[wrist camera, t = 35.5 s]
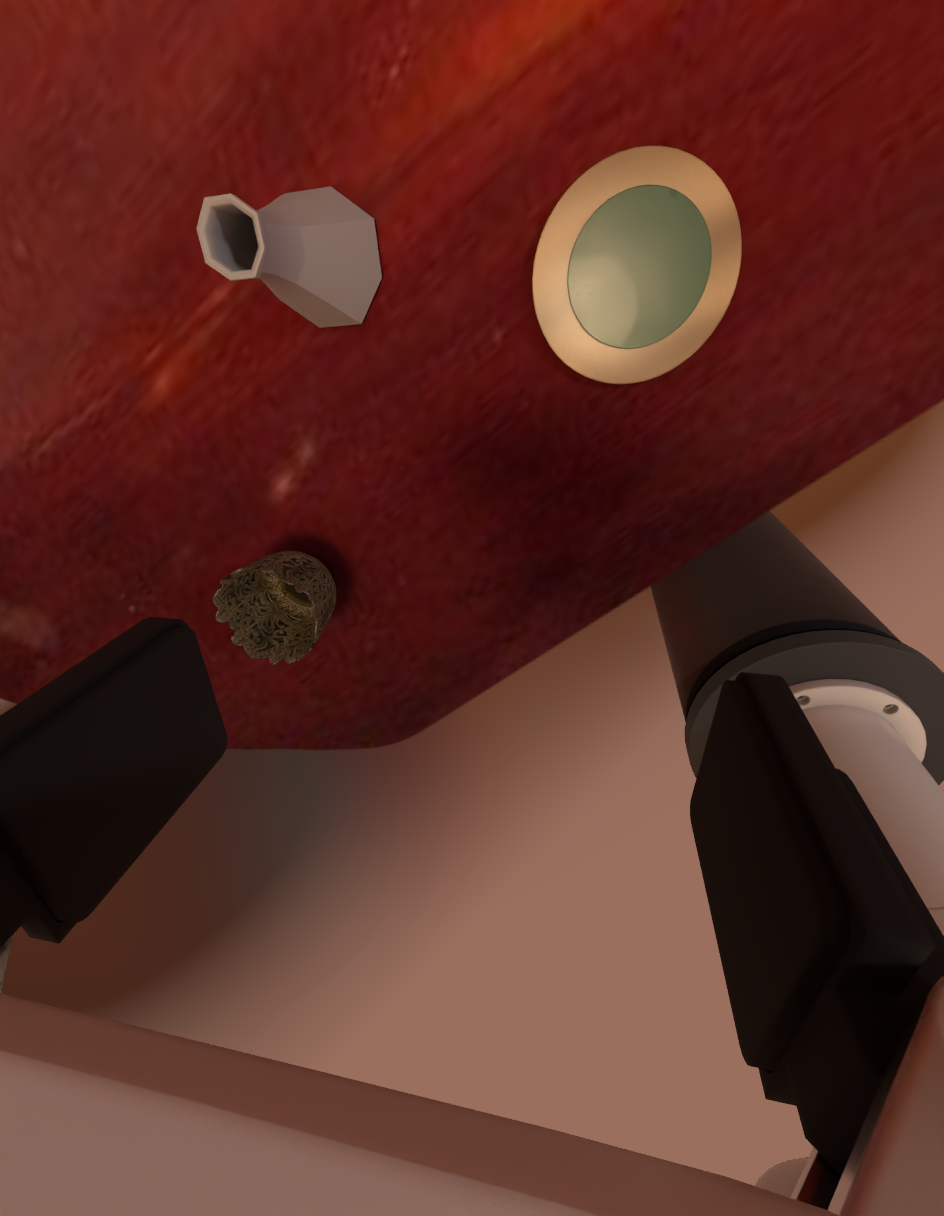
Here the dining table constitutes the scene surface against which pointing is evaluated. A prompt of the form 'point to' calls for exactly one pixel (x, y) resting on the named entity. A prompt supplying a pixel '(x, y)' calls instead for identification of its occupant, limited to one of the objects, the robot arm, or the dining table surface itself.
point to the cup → (278, 604)
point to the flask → (298, 251)
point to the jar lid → (639, 266)
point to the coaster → (568, 222)
